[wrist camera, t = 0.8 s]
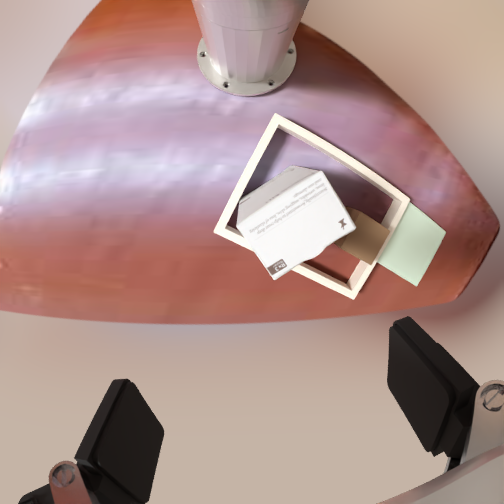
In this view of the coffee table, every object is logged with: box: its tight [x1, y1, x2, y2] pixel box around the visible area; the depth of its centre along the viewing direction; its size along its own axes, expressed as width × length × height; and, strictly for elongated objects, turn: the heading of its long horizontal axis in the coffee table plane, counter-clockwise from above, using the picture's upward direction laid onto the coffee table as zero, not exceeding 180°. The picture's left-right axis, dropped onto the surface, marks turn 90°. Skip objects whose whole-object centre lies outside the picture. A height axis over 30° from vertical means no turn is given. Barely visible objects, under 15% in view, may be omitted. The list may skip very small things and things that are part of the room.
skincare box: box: [236, 165, 356, 280], centre depth 28 cm, size 8×6×15 cm
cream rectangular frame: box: [214, 113, 410, 300], centre depth 35 cm, size 16×21×2 cm
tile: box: [377, 202, 446, 286], centre depth 37 cm, size 10×10×1 cm
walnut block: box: [334, 206, 390, 265], centre depth 35 cm, size 5×5×5 cm
